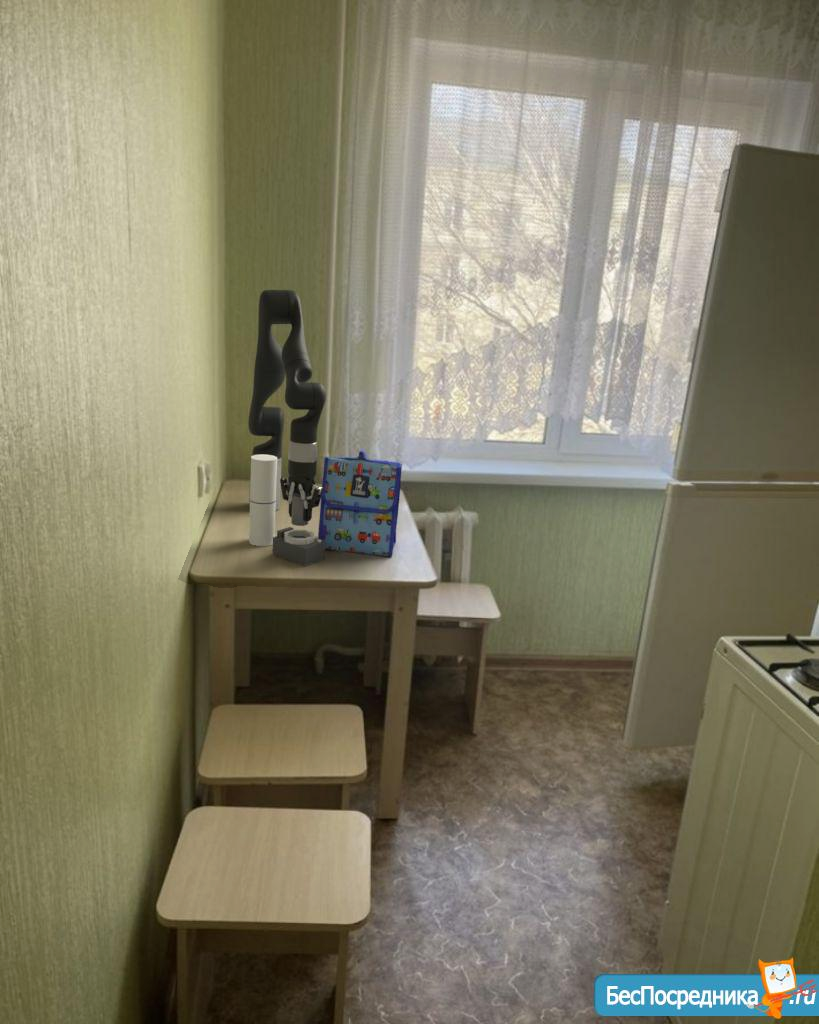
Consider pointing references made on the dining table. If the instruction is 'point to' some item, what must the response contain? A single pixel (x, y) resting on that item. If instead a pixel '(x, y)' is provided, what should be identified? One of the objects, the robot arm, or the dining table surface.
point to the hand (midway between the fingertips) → (299, 518)
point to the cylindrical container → (262, 499)
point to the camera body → (298, 546)
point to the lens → (298, 510)
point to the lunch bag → (360, 504)
